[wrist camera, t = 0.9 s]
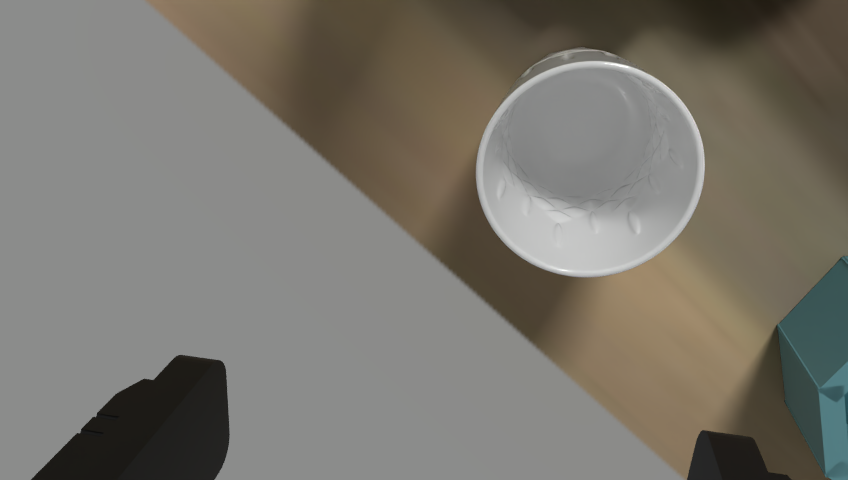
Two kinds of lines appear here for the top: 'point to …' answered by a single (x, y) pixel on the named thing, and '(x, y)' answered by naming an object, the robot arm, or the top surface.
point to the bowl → (820, 369)
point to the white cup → (589, 165)
